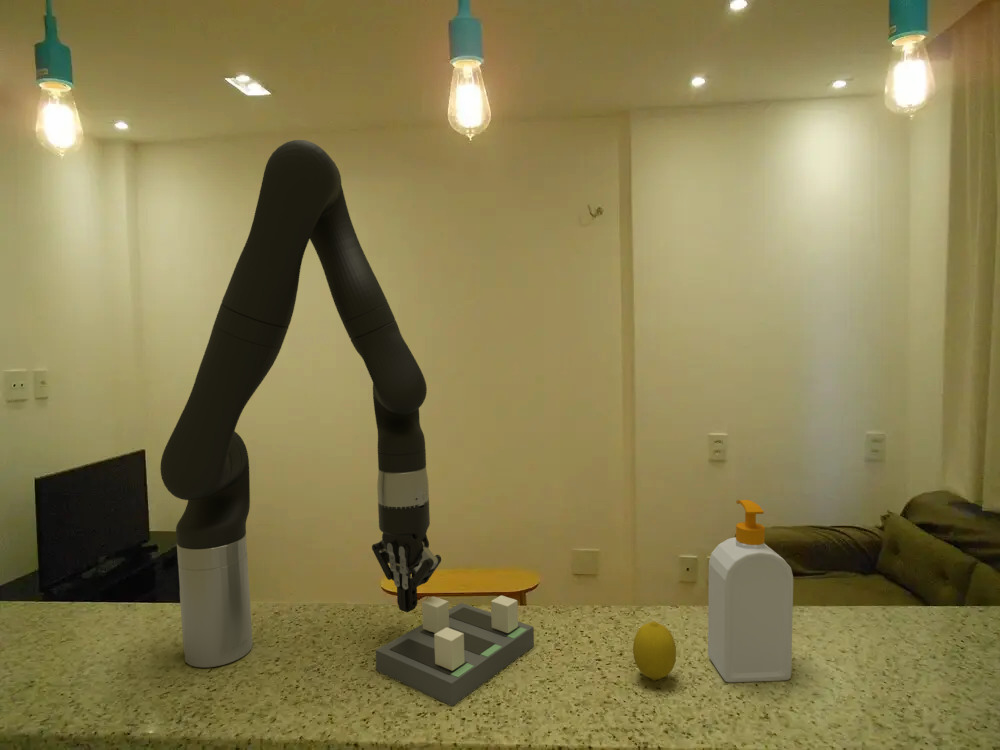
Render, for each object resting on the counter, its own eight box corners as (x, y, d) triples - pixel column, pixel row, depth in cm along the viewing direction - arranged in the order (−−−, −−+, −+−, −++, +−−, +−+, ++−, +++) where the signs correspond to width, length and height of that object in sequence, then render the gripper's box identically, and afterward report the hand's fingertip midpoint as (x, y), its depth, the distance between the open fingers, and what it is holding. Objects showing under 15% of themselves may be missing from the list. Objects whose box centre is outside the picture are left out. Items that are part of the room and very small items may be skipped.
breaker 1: (435, 663, 85) (434, 634, 85) (447, 655, 87) (446, 627, 86) (452, 670, 83) (451, 641, 83) (464, 662, 85) (463, 633, 85)
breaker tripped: (422, 628, 95) (422, 602, 94) (434, 622, 96) (433, 596, 96) (438, 634, 93) (437, 607, 92) (449, 627, 95) (448, 601, 94)
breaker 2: (491, 627, 94) (491, 601, 94) (501, 621, 96) (501, 595, 96) (508, 633, 93) (507, 606, 92) (518, 626, 95) (517, 600, 94)
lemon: (677, 693, 83) (677, 633, 82) (633, 689, 84) (632, 630, 83) (674, 670, 88) (674, 613, 87) (633, 666, 89) (632, 611, 89)
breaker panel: (376, 670, 90) (375, 649, 89) (461, 620, 104) (461, 602, 104) (452, 706, 81) (451, 682, 81) (533, 646, 95) (533, 626, 95)
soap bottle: (768, 653, 92) (771, 495, 90) (791, 680, 85) (795, 510, 83) (705, 655, 92) (707, 497, 90) (723, 683, 85) (725, 512, 83)
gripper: (354, 496, 97) (359, 607, 99) (417, 511, 89) (421, 631, 91) (391, 485, 103) (395, 590, 105) (453, 498, 95) (457, 611, 97)
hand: (407, 609), depth 98 cm, fingers closed
